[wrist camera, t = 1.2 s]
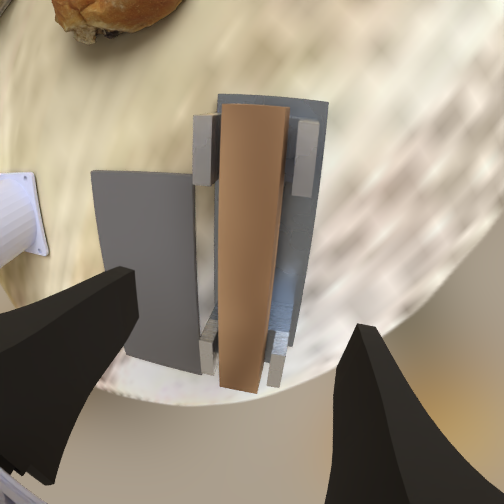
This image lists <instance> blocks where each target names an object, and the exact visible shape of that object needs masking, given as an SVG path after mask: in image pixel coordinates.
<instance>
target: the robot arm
mask: <svg viewBox="0 0 504 504" xmlns="http://www.w3.org/2000/svg"><path fill="white" fill-rule="evenodd" d="M23 251H26V252H30V253H34V254H38V255H42V256H47V255H48V254H49V250H48V246H47V242H46V237H45V233H44V228H43V223H42V218H41V213H40V208H39V202H38V196H37V190H36V183H35V176H34V174H33V173H32V172H14V173H0V268H2V267H3V266H4V265H6V264H7V263H8V262H10V261H11V260H12V259H14V258H15V257H16V256H18V255H19V254H20V253H22V252H23ZM138 319H139V309H138V300H137V290H136V279H135V270H133V269H129V268H126V267H122V266H118V267H115V268H112V269H110V270H107V271H105V272H103V273H101V274H98V275H96V276H94V277H92V278H90V279H87V280H85V281H83V282H81V283H79V284H77V285H74V286H72V287H70V288H68V289H66V290H64V291H61V292H59V293H56V294H54V295H52V296H49V297H47V298H45V299H42V300H40V301H38V302H35V303H32V304H30V305H27V306H24V307H21V308H18V309H15V310H12V311H9V312H5V313H1V314H0V504H47V503H46V502H44V501H43V500H42V499H40V498H39V497H37V496H36V495H35V494H33V493H32V492H31V491H29V490H28V489H27V488H25V487H24V486H23V485H21V484H20V483H19V482H18V481H16V480H15V479H14V478H13V477H11V476H10V475H11V473H12V471H13V470H15V471H16V472H17V473H18V474H20V475H21V476H23V475H24V474H25V472H28V473H29V474H30V475H31V476H33V477H34V478H35V479H37V480H38V481H39V482H41V483H42V484H44V485H52V484H54V483H55V478H56V475H57V471H58V468H59V464H60V461H61V458H62V455H63V452H64V449H65V446H66V444H67V441H68V439H69V436H70V434H71V431H72V429H73V427H74V425H75V422H76V420H77V418H78V416H79V414H80V412H81V410H82V408H83V406H84V404H85V402H86V400H87V398H88V396H89V395H90V393H91V391H92V390H93V388H94V386H95V385H96V384H97V382H98V381H99V379H100V378H101V376H102V375H103V374H104V372H105V371H106V369H107V368H108V367H109V365H110V364H111V362H112V361H113V360H114V358H115V357H116V355H117V354H118V353H119V351H120V350H121V348H122V347H123V346H124V344H125V343H126V341H127V340H128V338H129V336H130V334H131V332H132V331H133V329H134V327H135V325H136V323H137V321H138ZM325 504H504V493H503V492H501V491H500V490H499V489H497V488H496V487H495V486H493V485H492V484H491V483H489V481H487V480H486V479H485V478H484V477H483V476H482V475H481V474H480V473H479V472H478V471H477V470H476V469H474V468H473V467H472V466H471V465H470V464H469V463H468V462H467V461H466V460H465V459H464V457H463V456H462V455H461V454H460V453H459V452H458V451H457V450H456V449H455V447H454V446H453V445H452V444H451V443H450V442H449V441H448V439H447V438H446V437H445V436H444V435H443V433H442V432H441V431H440V429H439V428H438V427H437V425H436V424H435V423H434V421H433V420H432V419H431V417H430V416H429V415H428V413H427V412H426V410H425V409H424V408H423V406H422V404H421V403H420V401H419V400H418V398H417V397H416V395H415V394H414V392H413V391H412V389H411V387H410V386H409V384H408V382H407V381H406V379H405V377H404V376H403V374H402V372H401V371H400V369H399V367H398V365H397V364H396V362H395V360H394V358H393V357H392V355H391V353H390V351H389V350H388V348H387V346H386V344H385V342H384V341H383V339H382V337H381V335H380V334H379V332H378V330H377V329H376V327H374V326H369V325H363V324H358V323H357V325H356V327H355V329H354V332H353V334H352V336H351V338H350V340H349V342H348V345H347V347H346V349H345V351H344V353H343V355H342V357H341V359H340V361H339V363H338V365H337V368H336V377H335V385H334V394H333V454H332V466H331V472H330V479H329V484H328V490H327V495H326V499H325Z"/></svg>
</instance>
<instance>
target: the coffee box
mask: <svg viewBox="0 0 504 504" xmlns="http://www.w3.org/2000/svg"><path fill="white" fill-rule="evenodd" d="M11 1H12V0H0V16H1V15H2V13H3V12H4V10H5V9H6V8H7V6H8V5H9V3H10V2H11Z"/></svg>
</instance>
